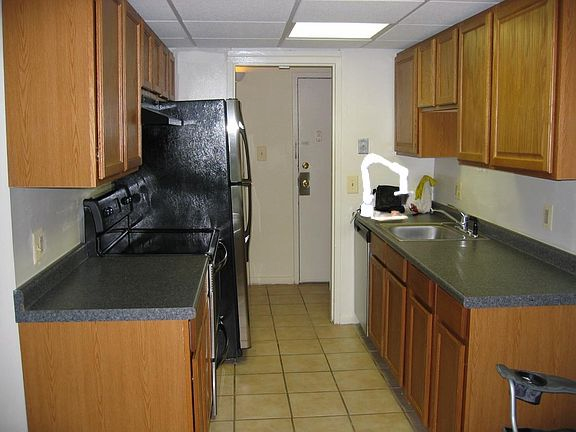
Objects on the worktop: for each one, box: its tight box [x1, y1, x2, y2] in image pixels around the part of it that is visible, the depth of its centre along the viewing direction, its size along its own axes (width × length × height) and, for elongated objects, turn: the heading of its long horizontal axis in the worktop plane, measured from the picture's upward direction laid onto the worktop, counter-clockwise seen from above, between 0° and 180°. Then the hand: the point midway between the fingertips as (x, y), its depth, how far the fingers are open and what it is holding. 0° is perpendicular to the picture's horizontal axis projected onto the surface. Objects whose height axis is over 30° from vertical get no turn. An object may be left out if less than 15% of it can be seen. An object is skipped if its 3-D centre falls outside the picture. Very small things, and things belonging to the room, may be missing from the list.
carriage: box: [391, 210, 403, 215], centre depth 439 cm, size 10×3×3 cm, turn 23°
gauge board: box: [370, 210, 409, 222], centre depth 437 cm, size 13×22×5 cm, turn 113°
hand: (403, 204), depth 443 cm, fingers closed
